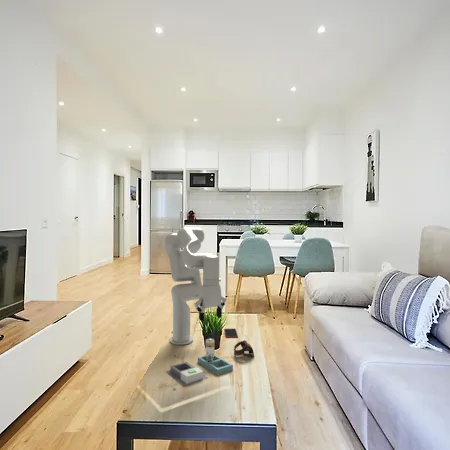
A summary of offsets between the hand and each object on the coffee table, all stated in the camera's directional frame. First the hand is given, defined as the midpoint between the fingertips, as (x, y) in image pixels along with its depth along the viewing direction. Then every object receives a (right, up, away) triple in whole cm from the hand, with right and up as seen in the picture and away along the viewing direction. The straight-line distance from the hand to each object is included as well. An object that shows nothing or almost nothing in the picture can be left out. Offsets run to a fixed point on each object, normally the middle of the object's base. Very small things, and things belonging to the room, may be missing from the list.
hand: (210, 318), depth 162 cm
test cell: (0, -21, 0) cm, 21 cm away
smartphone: (+10, -21, +45) cm, 51 cm away
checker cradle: (-10, -22, -11) cm, 27 cm away
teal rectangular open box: (+2, -22, -2) cm, 22 cm away
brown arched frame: (+16, -22, +13) cm, 30 cm away
